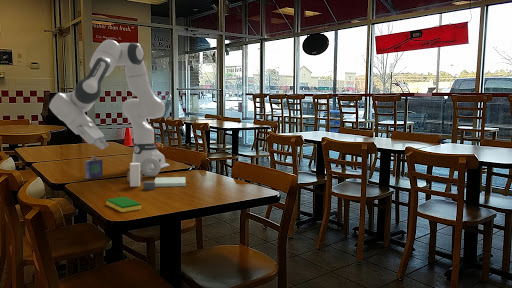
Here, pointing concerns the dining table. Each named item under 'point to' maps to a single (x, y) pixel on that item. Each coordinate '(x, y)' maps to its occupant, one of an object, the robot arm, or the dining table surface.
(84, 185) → the dining table surface
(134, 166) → the tall block
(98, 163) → the flask
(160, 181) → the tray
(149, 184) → the rubber puck
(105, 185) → the dining table surface
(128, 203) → the dish sponge
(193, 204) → the dining table surface
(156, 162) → the donut
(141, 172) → the walnut cube
